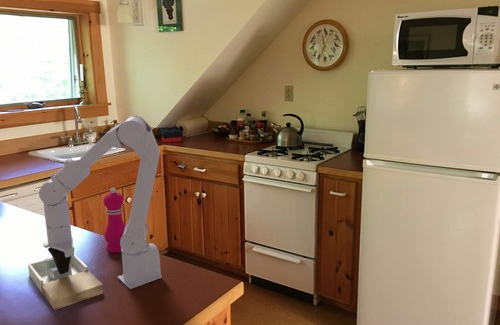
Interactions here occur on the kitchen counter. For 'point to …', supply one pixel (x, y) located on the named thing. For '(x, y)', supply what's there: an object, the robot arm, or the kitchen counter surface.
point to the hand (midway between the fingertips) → (63, 272)
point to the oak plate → (71, 289)
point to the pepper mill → (114, 220)
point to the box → (41, 276)
